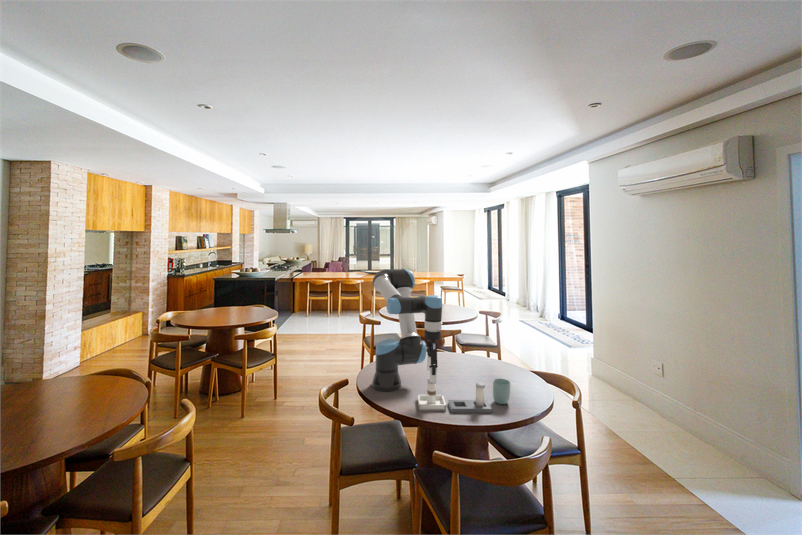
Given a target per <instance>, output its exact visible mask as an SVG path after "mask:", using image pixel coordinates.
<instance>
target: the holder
mask: <svg viewBox="0 0 802 535" xmlns="http://www.w3.org/2000/svg"><path fill="white" fill-rule="evenodd" d="M475 405H476V399H448V406H449V409H450V412H451V413H453V414H454V413H455V414H456V413H457V414H458V413H459V414H460V413H461V414H463V413H464V414H465V413H466V414H467V413H468V414H469V413H470V414H475V413H477V414H486V413H487V414H492V413H493V411H494V410H493V407H492V405H491V404H490V402H489V401H488V399H484V407H476V406H475Z"/></svg>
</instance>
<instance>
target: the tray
mask: <svg viewBox="0 0 802 535" xmlns="http://www.w3.org/2000/svg"><path fill="white" fill-rule="evenodd" d="M417 404H418V406H417V407H418V410H419V411H442V412H443V411H444V412H445V411H447V403H446V400H445V397H444V395H443V394H436V404H427V394H417Z"/></svg>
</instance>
